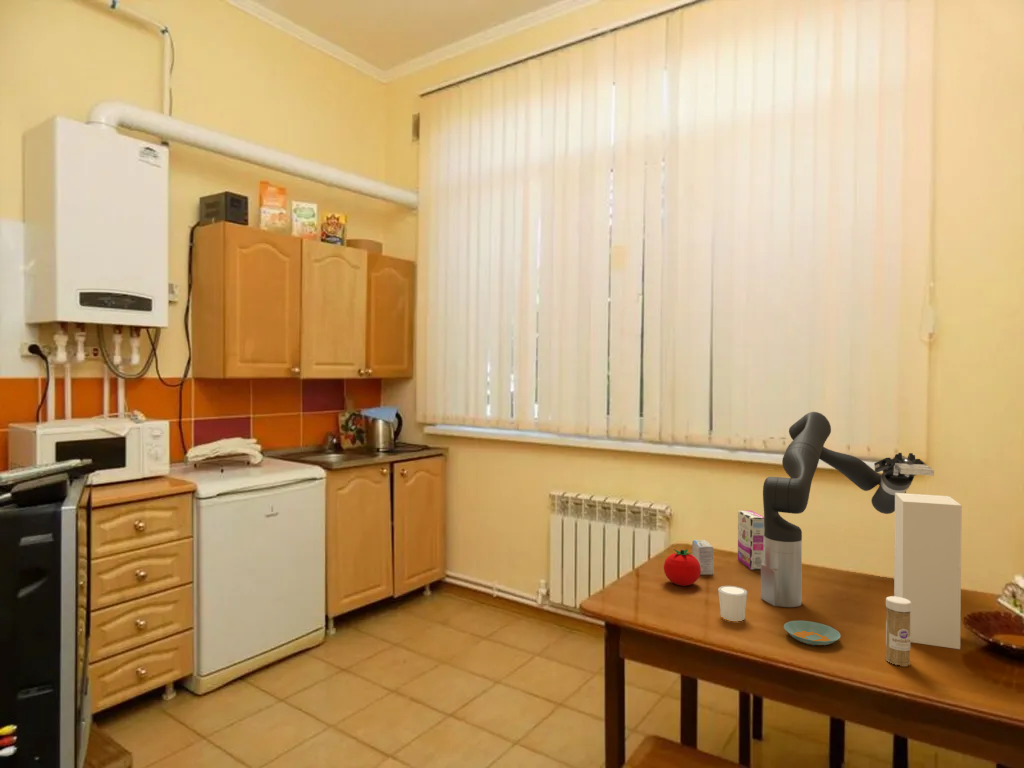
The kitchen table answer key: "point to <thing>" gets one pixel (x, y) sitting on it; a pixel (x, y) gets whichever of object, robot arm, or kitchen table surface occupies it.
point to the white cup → (732, 602)
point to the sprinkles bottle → (898, 630)
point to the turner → (913, 468)
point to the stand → (929, 566)
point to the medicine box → (703, 556)
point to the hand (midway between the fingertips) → (906, 456)
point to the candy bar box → (751, 539)
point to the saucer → (812, 627)
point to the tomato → (682, 568)
